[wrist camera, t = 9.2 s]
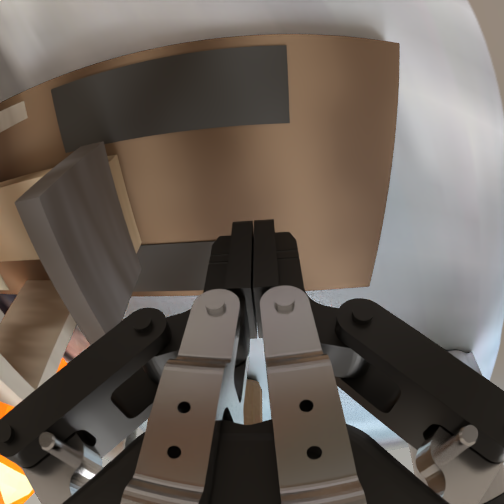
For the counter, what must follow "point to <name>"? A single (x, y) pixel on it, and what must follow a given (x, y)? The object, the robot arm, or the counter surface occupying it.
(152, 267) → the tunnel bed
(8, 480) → the orange juice
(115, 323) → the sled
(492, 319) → the counter surface
